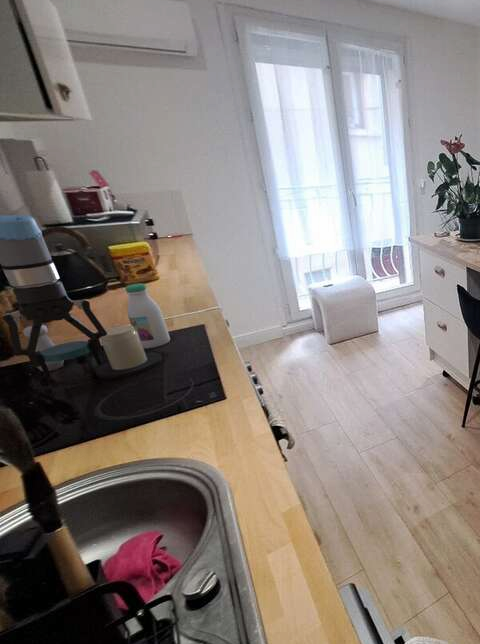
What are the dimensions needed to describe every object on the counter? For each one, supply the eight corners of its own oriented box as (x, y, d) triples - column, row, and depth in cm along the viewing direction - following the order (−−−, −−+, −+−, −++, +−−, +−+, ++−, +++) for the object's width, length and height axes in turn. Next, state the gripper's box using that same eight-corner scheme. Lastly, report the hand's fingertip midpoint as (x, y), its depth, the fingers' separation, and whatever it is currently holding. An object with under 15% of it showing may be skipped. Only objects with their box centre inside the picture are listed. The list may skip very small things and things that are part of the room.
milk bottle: (163, 337, 137) (144, 280, 130) (175, 341, 134) (156, 283, 127) (134, 346, 130) (112, 286, 123) (146, 351, 127) (124, 290, 120)
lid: (89, 344, 106) (87, 338, 105) (93, 353, 101) (90, 346, 101) (42, 355, 100) (39, 348, 100) (44, 365, 95) (41, 358, 95)
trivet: (91, 383, 109) (89, 380, 109) (102, 363, 120) (101, 360, 120) (159, 369, 117) (158, 366, 117) (164, 350, 128) (163, 347, 127)
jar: (109, 372, 113) (95, 338, 109) (114, 361, 119) (101, 328, 115) (145, 364, 117) (133, 331, 114) (149, 354, 123) (137, 322, 119)
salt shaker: (32, 370, 115) (12, 328, 111) (60, 361, 120) (42, 321, 116) (44, 374, 114) (23, 332, 109) (71, 365, 119) (53, 324, 114)
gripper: (98, 271, 104) (128, 350, 112) (-37, 291, 89) (9, 381, 97) (102, 276, 100) (133, 359, 108) (-39, 298, 85) (10, 392, 92)
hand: (74, 369), depth 102 cm, fingers closed on lid, 8 cm apart
